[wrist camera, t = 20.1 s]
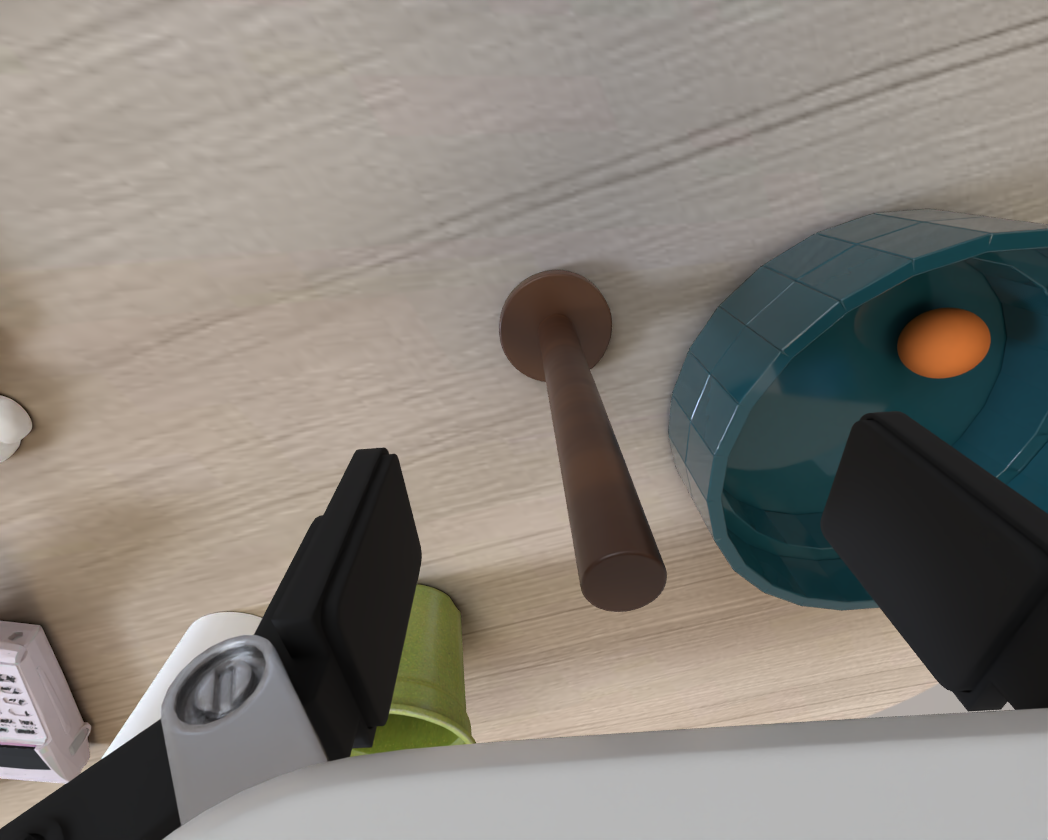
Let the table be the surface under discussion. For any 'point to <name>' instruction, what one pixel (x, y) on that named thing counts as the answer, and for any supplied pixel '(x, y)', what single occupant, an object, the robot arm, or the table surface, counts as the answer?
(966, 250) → the bowl
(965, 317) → the ball
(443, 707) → the plant pot
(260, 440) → the table surface
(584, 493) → the stirring stick
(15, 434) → the white toy figurine
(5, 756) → the mobile phone
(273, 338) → the table surface
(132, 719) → the cylindrical container
